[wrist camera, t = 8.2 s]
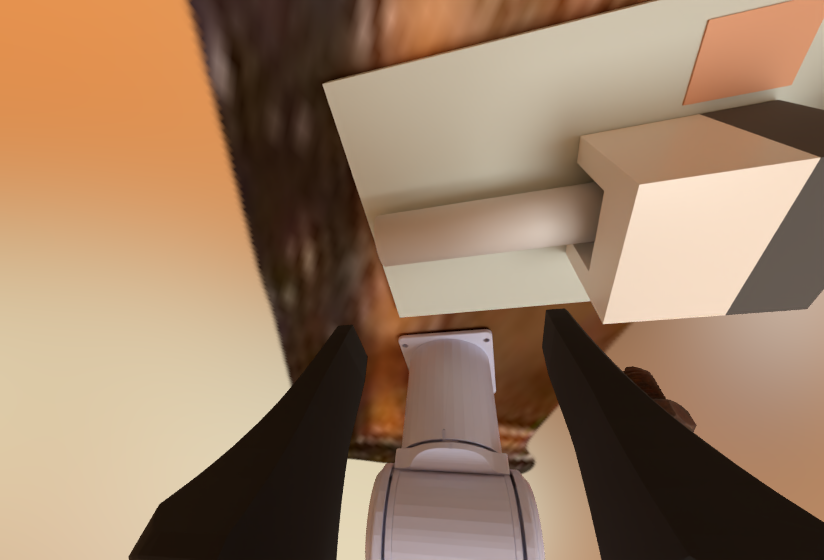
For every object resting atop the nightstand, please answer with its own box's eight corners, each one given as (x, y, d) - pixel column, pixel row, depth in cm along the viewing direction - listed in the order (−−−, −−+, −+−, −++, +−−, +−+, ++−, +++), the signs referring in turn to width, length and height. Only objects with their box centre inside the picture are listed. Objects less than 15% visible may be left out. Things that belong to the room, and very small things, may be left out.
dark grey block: (714, 236, 18) (807, 309, 13) (655, 243, 18) (725, 315, 14) (778, 99, 13) (949, 138, 9) (699, 113, 14) (820, 157, 9)
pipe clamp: (786, 272, 20) (888, 346, 16) (401, 308, 25) (391, 372, 20) (1047, -99, 10) (1532, -197, 6) (328, 81, 15) (278, 106, 11)
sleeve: (655, 242, 18) (725, 315, 14) (565, 253, 19) (602, 324, 15) (699, 114, 14) (821, 157, 9) (580, 135, 15) (639, 184, 10)
